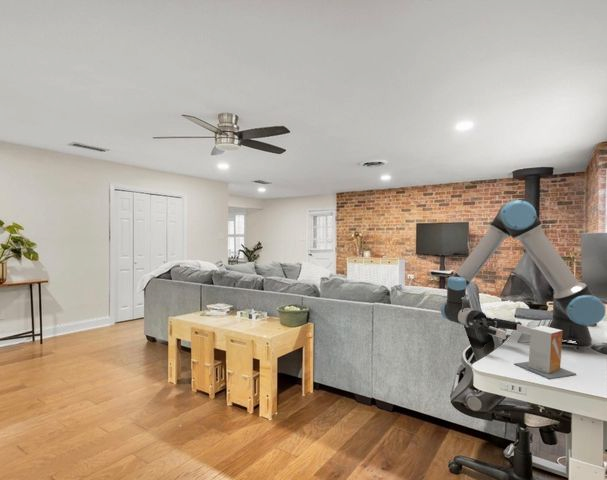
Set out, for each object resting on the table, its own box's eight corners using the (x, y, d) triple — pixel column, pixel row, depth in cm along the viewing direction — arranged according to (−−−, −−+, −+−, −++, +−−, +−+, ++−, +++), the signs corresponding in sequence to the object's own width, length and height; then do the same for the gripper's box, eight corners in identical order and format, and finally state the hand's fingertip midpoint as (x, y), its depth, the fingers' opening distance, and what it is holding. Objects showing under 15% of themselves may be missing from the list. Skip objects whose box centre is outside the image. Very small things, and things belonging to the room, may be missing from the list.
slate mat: (540, 361, 123) (540, 360, 123) (576, 375, 111) (576, 373, 111) (514, 364, 119) (514, 363, 119) (549, 379, 107) (549, 378, 107)
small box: (549, 374, 110) (551, 333, 110) (527, 367, 116) (529, 328, 115) (561, 369, 115) (563, 329, 114) (539, 362, 120) (541, 325, 119)
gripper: (495, 325, 148) (544, 341, 128) (447, 329, 140) (492, 347, 120) (496, 308, 148) (545, 321, 128) (448, 311, 140) (492, 325, 119)
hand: (519, 334), depth 124 cm, fingers open, 13 cm apart
